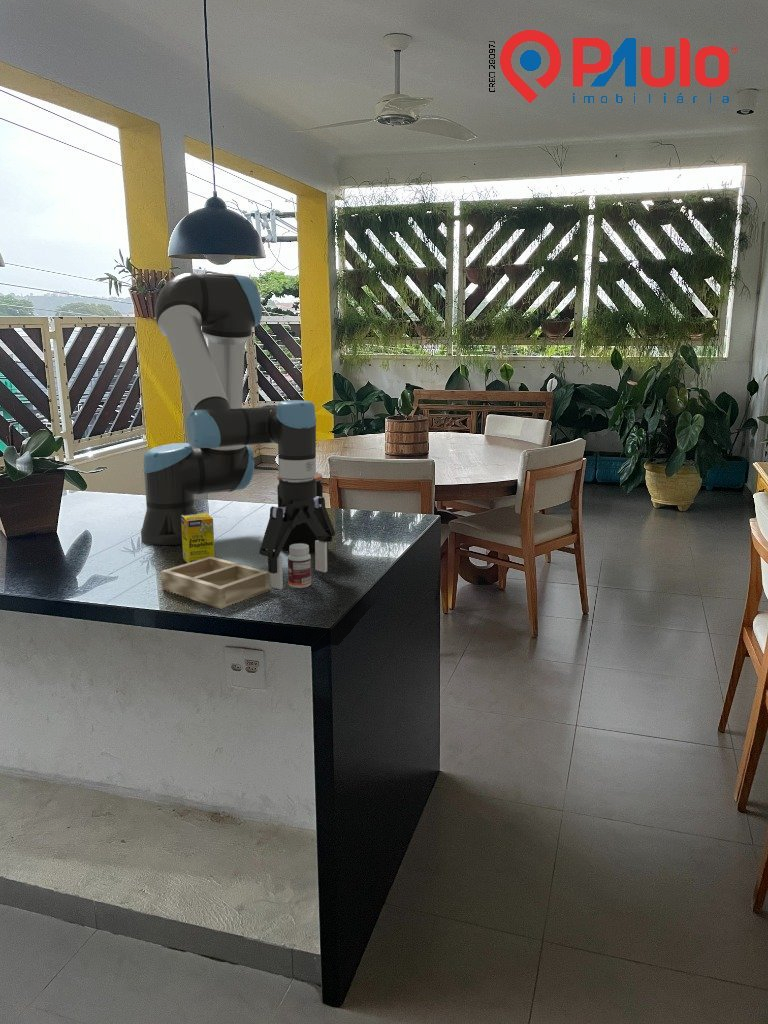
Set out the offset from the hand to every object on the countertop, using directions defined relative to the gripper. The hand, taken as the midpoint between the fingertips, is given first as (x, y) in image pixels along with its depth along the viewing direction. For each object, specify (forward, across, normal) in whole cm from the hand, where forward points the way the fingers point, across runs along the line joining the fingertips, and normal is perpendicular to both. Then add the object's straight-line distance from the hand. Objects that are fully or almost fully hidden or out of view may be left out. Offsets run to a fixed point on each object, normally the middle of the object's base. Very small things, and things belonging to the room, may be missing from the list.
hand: (299, 579), depth 158 cm
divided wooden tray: (+1, -13, +11) cm, 17 cm away
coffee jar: (+1, +20, +18) cm, 27 cm away
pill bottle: (+1, 0, 0) cm, 1 cm away
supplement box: (+1, -3, +28) cm, 28 cm away
